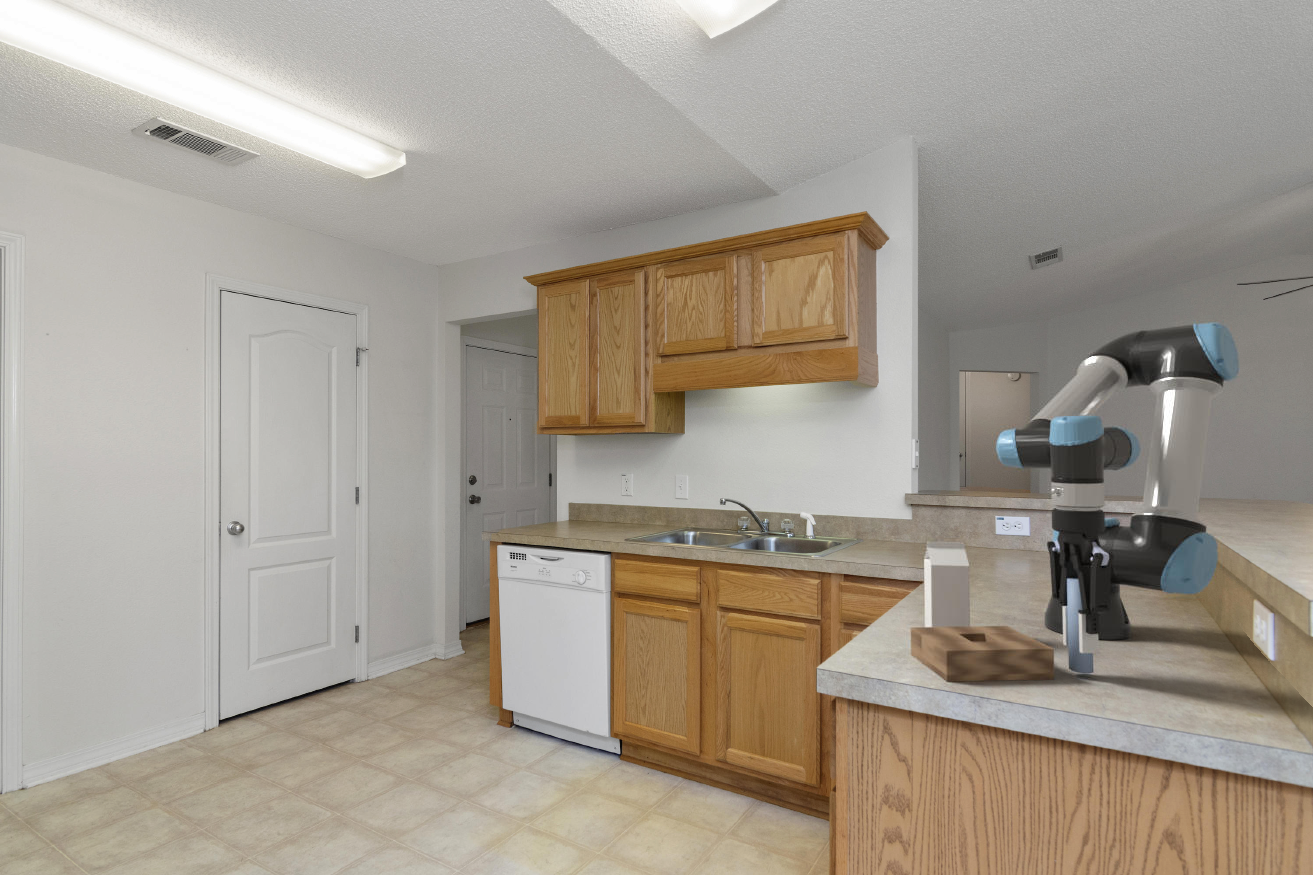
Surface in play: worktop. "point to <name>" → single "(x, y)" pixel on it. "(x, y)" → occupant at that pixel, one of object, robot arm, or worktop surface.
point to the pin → (1076, 631)
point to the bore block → (982, 653)
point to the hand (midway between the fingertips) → (1080, 648)
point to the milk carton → (946, 585)
